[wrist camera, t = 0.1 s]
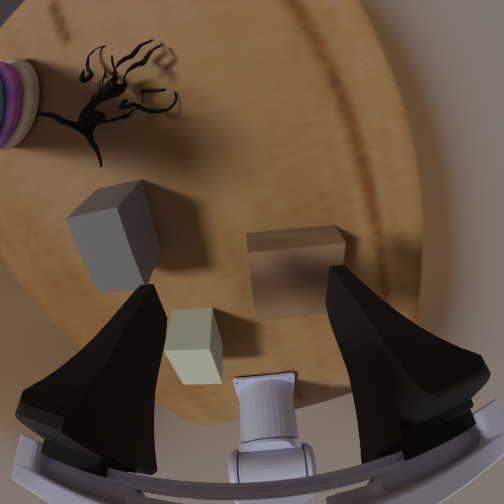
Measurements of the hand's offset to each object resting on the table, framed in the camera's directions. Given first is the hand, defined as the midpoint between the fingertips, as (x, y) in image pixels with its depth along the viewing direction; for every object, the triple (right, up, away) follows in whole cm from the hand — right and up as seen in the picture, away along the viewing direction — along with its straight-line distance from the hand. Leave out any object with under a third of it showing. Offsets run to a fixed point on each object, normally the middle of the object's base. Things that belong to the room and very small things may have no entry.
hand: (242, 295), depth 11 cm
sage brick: (-5, -6, +16) cm, 18 cm away
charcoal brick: (-9, +4, +9) cm, 13 cm away
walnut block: (+4, +1, +12) cm, 13 cm away
